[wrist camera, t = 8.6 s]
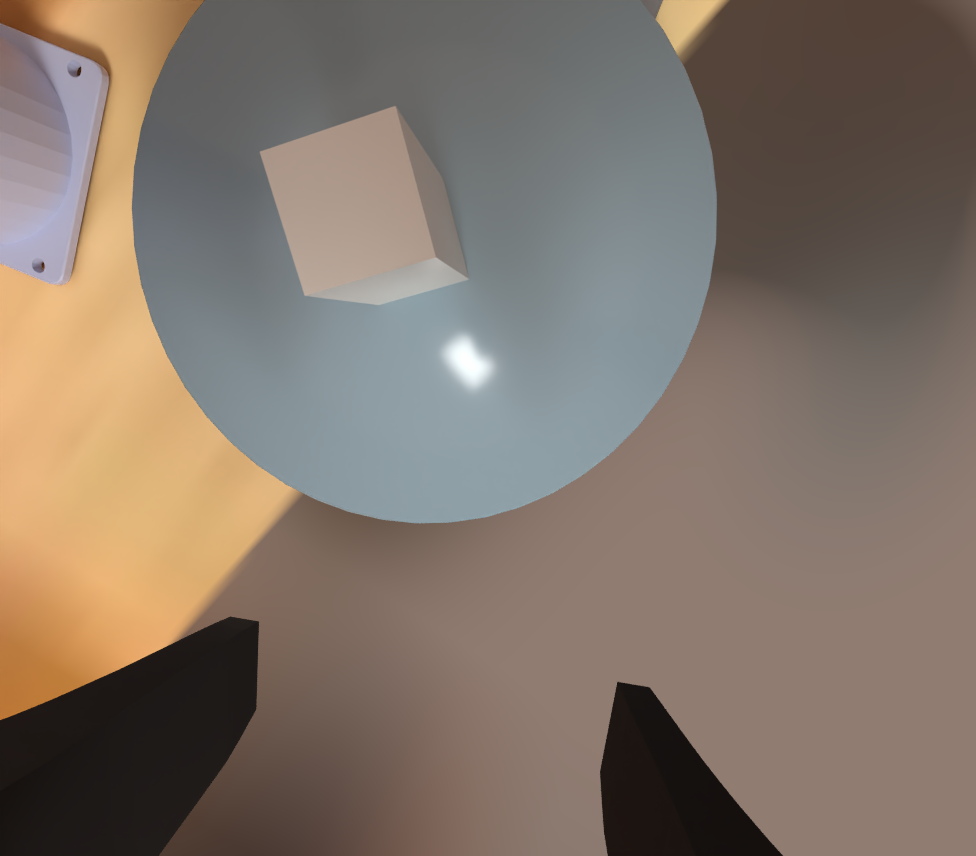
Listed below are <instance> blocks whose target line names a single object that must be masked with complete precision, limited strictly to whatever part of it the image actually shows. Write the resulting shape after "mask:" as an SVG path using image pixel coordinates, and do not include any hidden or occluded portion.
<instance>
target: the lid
mask: <svg viewBox="0 0 976 856" xmlns="http://www.w3.org/2000/svg"><path fill="white" fill-rule="evenodd" d="M716 213H717V194H716V185H715V176H714V167H713V159H712V152H711V147H710V143H709V140H708V135H707V132H706V127H705V124H704V119H703V115H702V111H701V108H700V106H699V103H698V101H697V98H696V96H695V93H694V90H693V88H692V85H691V83H690V80H689V78H688V75H687V72H686V70H685V68H684V66H683V64H682V63H681V61H680V59H679V57H678V55H677V54H676V52H675V50H674V48H673V46H672V45H671V43H670V41H669V39H668V38H667V36H666V34H665V32H664V30H663V29H662V28H661V26H660V25H659V24H658V22H657V21H656V20H655V18H654V17H653V16H652V15H651V13H650V12H649V11H648V9H647V8H646V7H645V5H644V4H643V3H642V1H641V0H205V1H204V2H203V3H202V4H201V6H200V7H199V8H198V9H197V11H196V12H195V13H194V14H193V15H192V17H191V18H190V20H189V21H188V23H187V25H186V26H185V28H184V30H183V31H182V33H181V34H180V36H179V38H178V39H177V41H176V43H175V44H174V46H173V48H172V49H171V51H170V52H169V55H168V57H167V59H166V61H165V64H164V66H163V68H162V70H161V73H160V75H159V77H158V79H157V82H156V84H155V86H154V88H153V91H152V94H151V97H150V101H149V104H148V107H147V111H146V114H145V117H144V120H143V124H142V127H141V132H140V137H139V143H138V149H137V155H136V160H135V166H134V180H133V199H132V215H133V231H134V247H135V252H136V258H137V263H138V269H139V275H140V280H141V285H142V289H143V292H144V295H145V299H146V302H147V305H148V309H149V312H150V315H151V318H152V322H153V324H154V326H155V329H156V331H157V333H158V336H159V338H160V340H161V342H162V345H163V347H164V349H165V352H166V354H167V356H168V358H169V360H170V361H171V363H172V365H173V367H174V368H175V370H176V372H177V374H178V375H179V377H180V379H181V381H182V382H183V384H184V386H185V388H186V389H187V390H188V392H189V393H190V394H191V396H192V397H193V398H194V400H195V401H196V403H197V404H198V405H199V407H200V408H201V409H202V411H203V412H204V413H205V415H206V416H207V417H208V418H209V419H210V421H211V422H212V423H213V424H214V425H215V426H216V427H217V428H218V429H219V430H220V431H221V432H222V433H223V435H224V436H225V437H226V438H227V439H228V440H229V441H230V442H231V443H232V444H233V445H234V446H236V447H237V448H238V449H239V450H240V451H241V452H243V453H244V454H245V455H246V456H247V457H248V458H250V459H251V460H252V461H253V462H254V463H255V464H257V465H258V466H259V467H261V468H262V469H264V470H265V471H267V472H268V473H270V474H271V475H273V476H274V477H276V478H277V479H279V480H280V481H282V482H283V483H285V484H286V485H288V486H290V487H292V488H294V489H296V490H298V491H300V492H302V493H304V494H306V495H308V496H310V497H312V498H314V499H316V500H318V501H321V502H323V503H326V504H329V505H332V506H334V507H337V508H340V509H343V510H345V511H348V512H352V513H356V514H360V515H365V516H369V517H373V518H378V519H382V520H391V521H401V522H410V523H445V522H456V521H463V520H470V519H476V518H483V517H488V516H491V515H495V514H498V513H502V512H505V511H508V510H512V509H516V508H519V507H521V506H524V505H526V504H528V503H531V502H533V501H535V500H538V499H540V498H542V497H545V496H547V495H549V494H552V493H553V492H555V491H557V490H558V489H560V488H562V487H564V486H565V485H567V484H569V483H570V482H572V481H574V480H575V479H577V478H579V477H580V476H582V475H584V474H585V473H586V472H588V471H589V470H590V469H591V468H593V467H594V466H595V465H596V464H598V463H599V462H600V461H602V460H603V459H604V458H606V457H607V456H608V455H609V454H611V453H612V452H613V451H614V450H615V449H616V448H617V447H618V446H619V445H620V444H621V443H622V442H623V441H624V440H625V439H626V438H627V437H628V436H629V435H630V434H631V433H632V432H633V431H634V430H635V429H636V428H637V427H638V426H639V424H640V423H641V422H642V421H643V419H644V418H645V417H646V415H647V414H648V413H649V411H650V410H651V409H652V408H653V406H654V405H655V404H656V402H657V401H658V400H659V399H660V397H661V396H662V395H663V393H664V391H665V389H666V388H667V386H668V384H669V383H670V381H671V379H672V377H673V376H674V374H675V372H676V371H677V369H678V367H679V365H680V364H681V362H682V360H683V358H684V356H685V353H686V351H687V349H688V346H689V344H690V341H691V339H692V337H693V334H694V332H695V329H696V327H697V325H698V322H699V319H700V315H701V312H702V308H703V305H704V301H705V298H706V294H707V291H708V287H709V284H710V277H711V271H712V264H713V257H714V251H715V244H716Z"/></svg>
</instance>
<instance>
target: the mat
mask: <svg viewBox="0 0 976 856" xmlns="http://www.w3.org/2000/svg"><path fill="white" fill-rule="evenodd" d="M641 1H642V3H643V4H644V5H645V7H646V8H647V9H648V11H649V12H650V13H651V15H652V16H653V17H654V18H656V16H657V13H658V11H659V9H660V6H661V4H662V1H663V0H641Z"/></svg>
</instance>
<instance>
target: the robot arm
mask: <svg viewBox="0 0 976 856" xmlns="http://www.w3.org/2000/svg"><path fill="white" fill-rule="evenodd" d="M80 67H81V74H80V76H77V71H78V69H79V68H80ZM108 86H109V76H108V73H107V71H106V70H105V68H104V67H103V66H101V65H100V64H98V63H96V62H95V61H93V60H91V59H89V58H86V57H84V56H81V55H79V54H76V53H74V52H71V51H69V50H66V49H64V48H61V47H59V46H56V45H54V44H51V43H49V42H46V41H44V40H41V39H39V38H36V37H34V36H31V35H29V34H26V33H24V32H21V31H19V30H16V29H14V28H11V27H9V26H6V25H4V24H1V23H0V264H3V265H5V266H8V267H10V268H13V269H15V270H17V271H20V272H22V273H25V274H27V275H30V276H32V277H35V278H37V279H39V280H42V281H44V282H47V283H49V284H55V285H63V284H66V283H67V282H68V281H69V279H70V277H71V273H72V268H73V263H74V258H75V253H76V248H77V243H78V237H79V232H80V227H81V222H82V217H83V212H84V207H85V202H86V197H87V192H88V187H89V182H90V177H91V172H92V167H93V162H94V157H95V152H96V146H97V141H98V136H99V131H100V126H101V121H102V116H103V111H104V106H105V101H106V96H107V91H108ZM42 262H44V264H45V269H44V271H43V269H42ZM258 633H259V622H258V621H252V620H247V619H241V618H235V617H228V618H226V619H224V620H221V621H219V622H217V623H214V624H213V625H210V626H208V627H206V628H204V629H202V630H200V631H198V632H195V633H193V634H191V635H189V636H187V637H185V638H183V639H181V640H179V641H177V642H175V643H173V644H171V645H169V646H167V647H165V648H163V649H161V650H159V651H157V652H154V653H152V654H150V655H148V656H146V657H144V658H142V659H140V660H138V661H136V662H134V663H132V664H130V665H128V666H126V667H124V668H121V669H119V670H117V671H115V672H113V673H110V674H108V675H106V676H104V677H102V678H99V679H97V680H95V681H93V682H90V683H88V684H86V685H84V686H81V687H79V688H77V689H75V690H73V691H70V692H68V693H66V694H64V695H61V696H59V697H57V698H55V699H52V700H50V701H48V702H45V703H43V704H40V705H38V706H36V707H33V708H31V709H28V710H26V711H23V712H21V713H18V714H16V715H13V716H10V717H8V718H5V719H2V720H0V856H159V854H160V853H161V852H162V850H163V849H164V847H165V846H166V845H167V843H168V842H169V841H170V839H171V838H172V837H173V835H174V834H175V832H176V831H177V830H178V828H179V827H180V826H181V824H182V823H183V821H184V820H185V819H186V817H187V816H188V814H189V813H190V812H191V811H192V809H193V808H194V806H195V805H196V804H197V802H198V801H199V799H200V798H201V797H202V795H203V794H204V792H205V791H206V790H207V788H208V787H209V786H210V784H211V783H212V781H213V780H214V779H215V777H216V776H217V774H218V773H219V771H220V770H221V769H222V767H223V766H224V764H225V763H226V762H227V760H228V758H229V756H230V755H231V753H232V751H233V750H234V748H235V746H236V745H237V743H238V741H239V740H240V738H241V736H242V734H243V732H244V730H245V729H246V727H247V725H248V723H249V721H250V719H251V718H252V716H253V714H254V712H255V711H256V698H257V666H258V665H257V664H258ZM600 778H601V794H602V810H603V824H604V835H605V840H606V847H607V853H608V856H783V855H782V854H781V853H780V852H779V851H778V850H777V849H776V848H775V847H774V845H773V844H772V843H771V842H770V841H769V840H768V839H767V837H766V836H765V835H764V834H763V833H762V832H761V831H760V829H759V828H758V827H757V826H756V825H755V824H754V822H753V821H752V820H751V819H750V818H749V816H748V815H747V814H746V813H745V812H744V811H743V810H742V808H741V807H740V806H739V805H738V804H737V802H736V801H735V800H734V799H733V797H732V796H731V795H730V794H729V793H728V791H727V790H726V789H725V788H724V787H723V785H722V784H721V783H720V782H719V780H718V779H717V778H716V776H715V775H714V774H713V772H712V771H711V770H710V769H709V767H708V766H707V765H706V764H705V762H704V761H703V760H702V758H701V757H700V756H699V754H698V753H697V752H696V750H695V749H694V748H693V746H692V745H691V744H690V742H689V741H688V739H687V738H686V737H685V735H684V734H683V733H682V731H681V730H680V729H679V727H678V726H677V724H676V723H675V722H674V720H673V719H672V717H671V716H670V715H669V714H668V712H667V711H666V709H665V708H664V706H663V705H662V704H661V702H660V701H659V700H658V698H657V697H656V695H655V694H654V693H653V691H652V690H651V689H650V688H649V687H644V686H638V685H632V684H627V683H621V682H617V687H616V692H615V697H614V702H613V708H612V713H611V718H610V724H609V728H608V734H607V739H606V744H605V749H604V754H603V759H602V765H601V770H600Z"/></svg>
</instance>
